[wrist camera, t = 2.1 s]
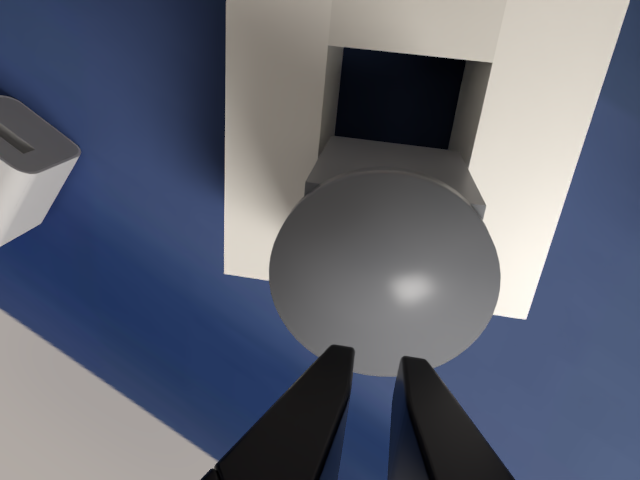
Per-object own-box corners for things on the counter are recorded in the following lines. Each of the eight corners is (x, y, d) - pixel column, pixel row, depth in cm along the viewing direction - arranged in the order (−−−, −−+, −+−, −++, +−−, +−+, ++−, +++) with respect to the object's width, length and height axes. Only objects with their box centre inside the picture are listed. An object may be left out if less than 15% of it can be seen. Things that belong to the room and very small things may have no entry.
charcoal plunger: (483, 134, 15) (529, 192, 10) (448, 282, 17) (470, 392, 12) (314, 114, 15) (274, 159, 10) (301, 261, 17) (264, 357, 12)
